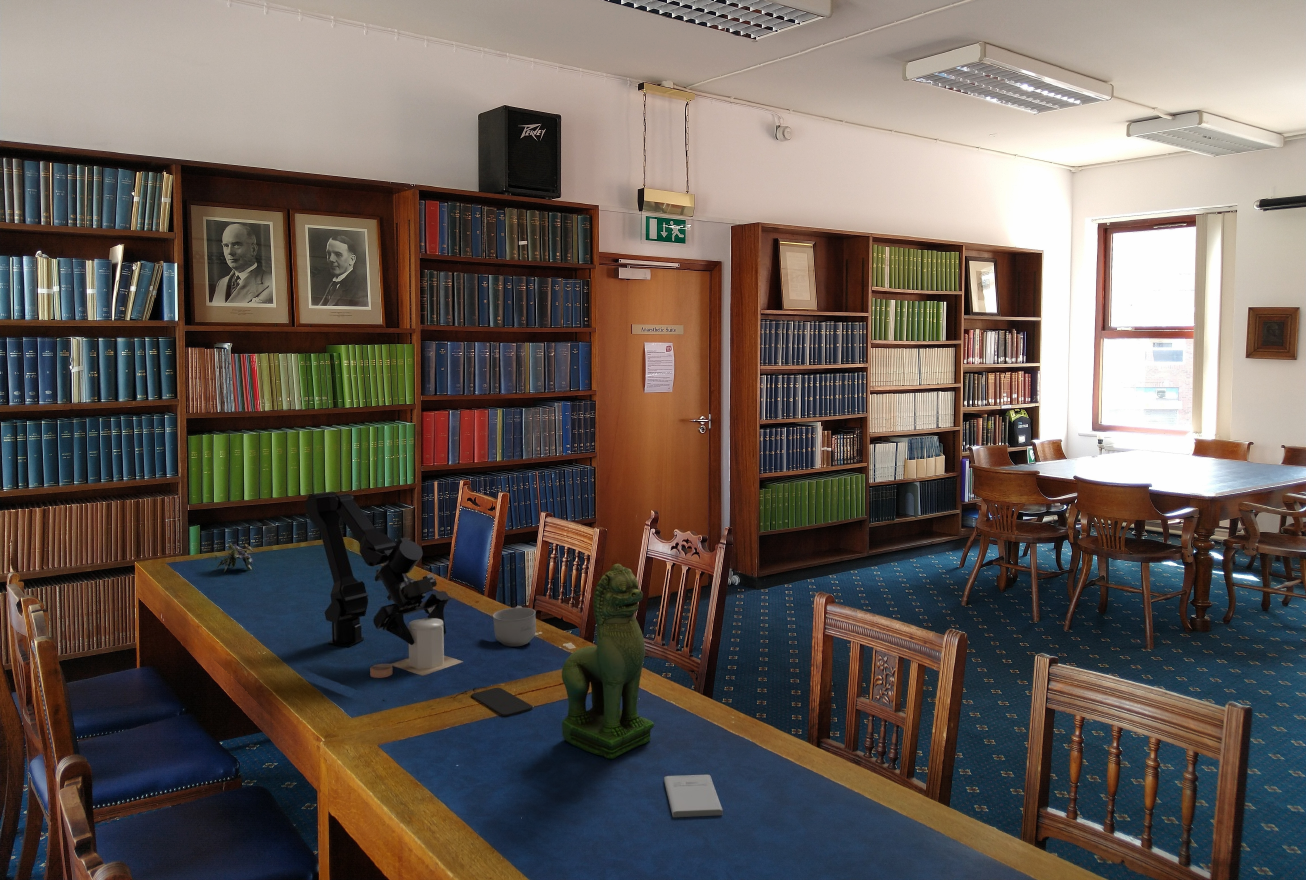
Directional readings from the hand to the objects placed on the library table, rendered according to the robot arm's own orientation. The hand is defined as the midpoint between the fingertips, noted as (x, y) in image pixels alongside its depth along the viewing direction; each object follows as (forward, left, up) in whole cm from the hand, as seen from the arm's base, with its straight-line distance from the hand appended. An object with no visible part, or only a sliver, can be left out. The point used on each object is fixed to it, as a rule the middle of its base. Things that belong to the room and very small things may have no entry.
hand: (429, 638), depth 215 cm
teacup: (+9, +26, -8) cm, 29 cm away
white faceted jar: (-1, 0, -6) cm, 6 cm away
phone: (+25, -12, -8) cm, 29 cm away
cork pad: (-1, 0, -7) cm, 8 cm away
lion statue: (+53, -22, -8) cm, 58 cm away
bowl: (-7, -9, -7) cm, 14 cm away
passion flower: (-112, +59, -8) cm, 127 cm away
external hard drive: (+75, -38, -8) cm, 84 cm away
